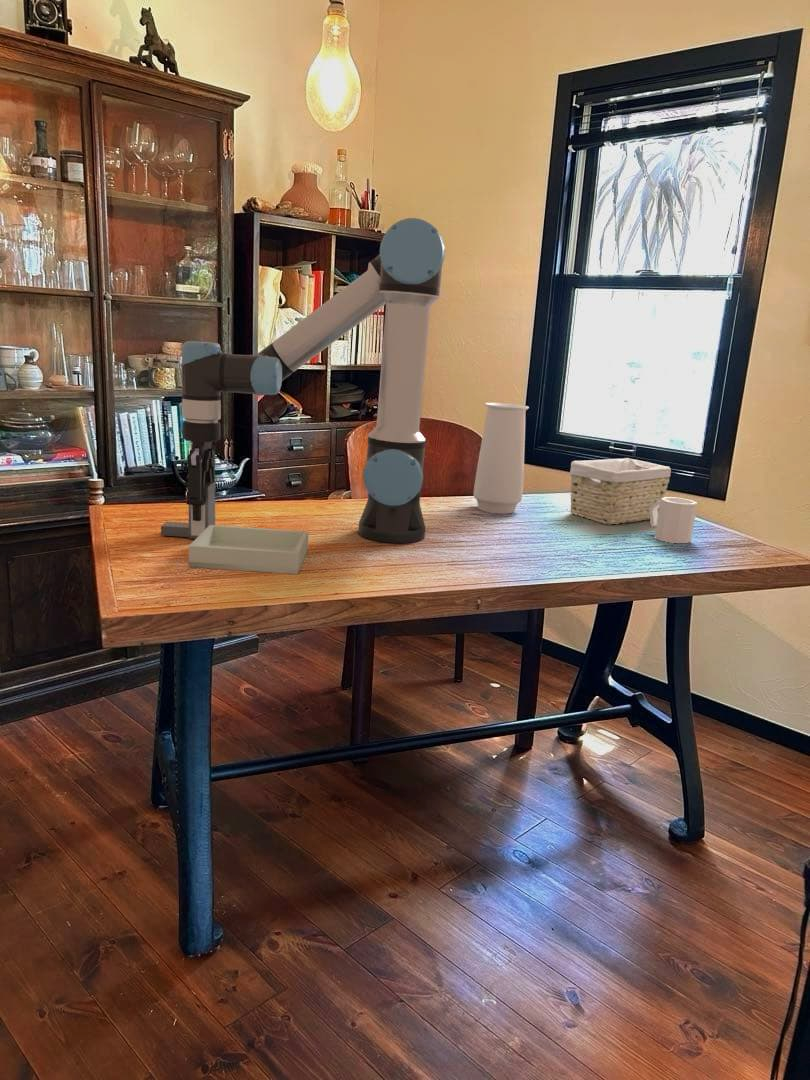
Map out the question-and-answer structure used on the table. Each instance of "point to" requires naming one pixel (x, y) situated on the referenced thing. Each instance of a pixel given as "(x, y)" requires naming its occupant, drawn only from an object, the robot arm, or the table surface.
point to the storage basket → (616, 489)
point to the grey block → (185, 528)
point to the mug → (673, 519)
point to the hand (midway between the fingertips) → (202, 530)
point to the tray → (249, 549)
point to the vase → (501, 459)
